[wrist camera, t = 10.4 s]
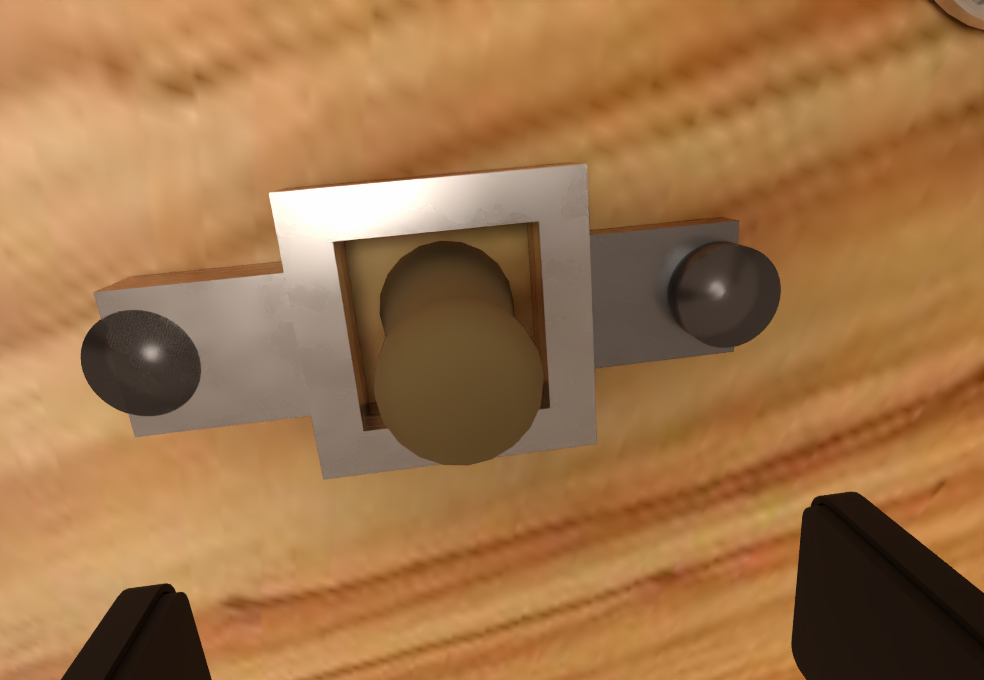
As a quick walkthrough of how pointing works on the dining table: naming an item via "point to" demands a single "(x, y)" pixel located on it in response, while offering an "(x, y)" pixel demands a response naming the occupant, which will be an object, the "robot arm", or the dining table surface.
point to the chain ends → (333, 329)
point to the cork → (454, 357)
